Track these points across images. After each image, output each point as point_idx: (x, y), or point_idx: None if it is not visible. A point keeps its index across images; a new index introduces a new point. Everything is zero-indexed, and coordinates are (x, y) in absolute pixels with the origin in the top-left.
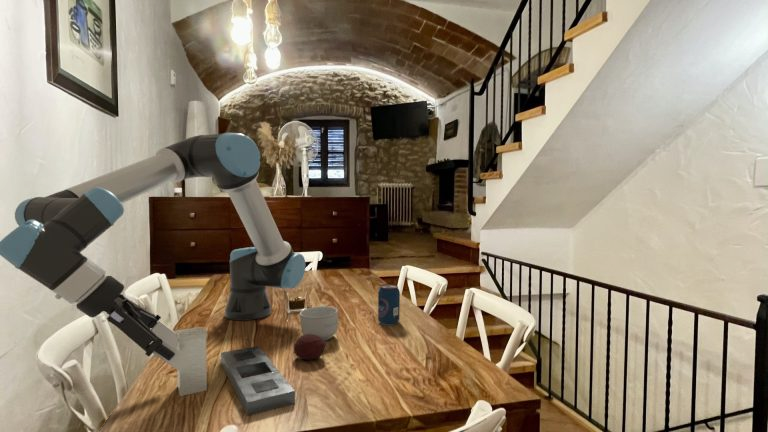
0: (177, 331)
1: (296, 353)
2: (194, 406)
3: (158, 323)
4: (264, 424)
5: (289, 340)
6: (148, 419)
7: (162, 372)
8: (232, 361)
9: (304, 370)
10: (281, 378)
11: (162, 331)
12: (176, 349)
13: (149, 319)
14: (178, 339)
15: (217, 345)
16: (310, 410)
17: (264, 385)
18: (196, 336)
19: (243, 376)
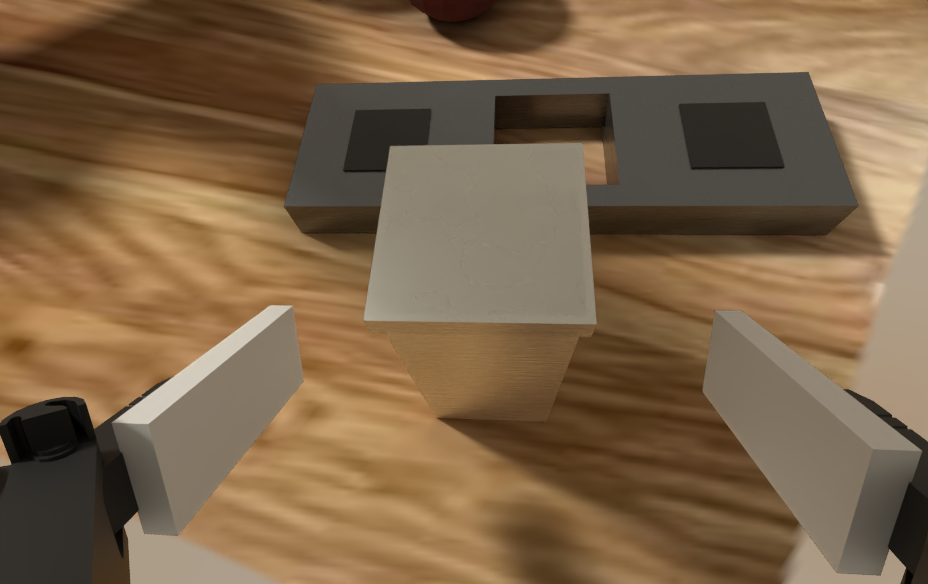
0: (396, 310)
1: (466, 10)
2: (674, 381)
3: (155, 439)
4: (905, 205)
5: (265, 17)
6: (724, 577)
7: None
8: None
9: (549, 38)
10: (684, 82)
11: (219, 420)
12: (808, 367)
13: (105, 539)
14: (592, 326)
15: (101, 214)
16: (847, 87)
17: (730, 134)
18: (585, 208)
19: None
